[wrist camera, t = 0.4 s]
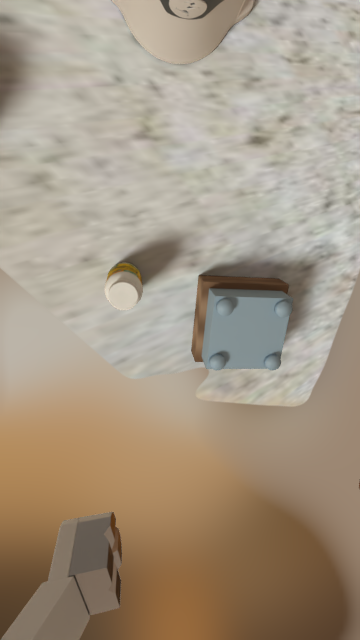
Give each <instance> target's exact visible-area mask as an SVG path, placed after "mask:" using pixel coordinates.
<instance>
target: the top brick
mask: <svg viewBox="0 0 360 640" xmlns="http://www.w3.org/2000/svg"><path fill="white" fill-rule="evenodd" d="M292 302H293V298H292V297H290V296H289V295H287V294H286V293H284V292H283V291H272V290H244V289H217V288H209V294H208V303H207V312H206V321H205V330H204V339H203V348H202V359H203V362H204V364H205V367H206V369H214V370H221V369H269V370H276V369H278V368H279V366H280V364H281V360H280V358H281V353H282V348H283V344H284V339H285V334H286V330H287V325H288V321H289V316H290V314H291V312H292Z"/></svg>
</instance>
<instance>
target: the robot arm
mask: <svg viewBox="0 0 360 640" xmlns="http://www.w3.org/2000/svg"><path fill="white" fill-rule="evenodd" d="M111 1H112V2H114V3H115V4H116V5H117V6H118V8H119V9H120V11H121V12H122V14H123V16H124V18H125V21H126V23H127V25H128V27H129V29H130V30H131V32H132V34H133V35H134V37H135V38H136V40H137V41H138V42H139V43H140V44H141V45H142V46H143V48H145V49H146V50H147V51H148V52H149V53H150V54H152V55H153V56H155V57H157V58H158V59H161V60H163V61H165V62H169V63H173V64H188V63H192V62H195V61H198V60H200V59H202V58H204V57H206V56H207V55H208V54H210V53H211V52H212V51H213V50H214V49H215V48H216V47H217V46H218V45H219V44H220V42H221V41H222V39H223V38H224V36H225V35H226V33H227V32H228V30H229V29H230V28H231V27H232V26H233V25H234V24H236V23H237V22H239V21H241V20H242V19H243V18H245V17H246V16H247V15H248V14H249V13H250V11H251V9H252V7H253V4H254V0H111ZM359 489H360V482H359ZM115 525H116V518H115V515H114V512H109V513H104V514H98V515H92V516H87V517H81V518H75V519H70V520H65V521H63V522H62V524H61V526H60V530H59V534H58V538H57V543H56V548H55V552H54V556H53V560H52V565H51V569H50V574H49V578H48V582H44V583H42V584H41V586H40V587H39V588H38V590H37V591H36V593H35V594H34V595H33V596H32V598H31V599H30V601H29V602H28V603H27V605H26V606H25V608H24V609H23V610H22V611H21V613H20V614H19V616H18V617H17V618H16V620H15V621H14V623H13V624H12V625H11V627H10V628H9V629H8V631H7V632H6V633H5V635H4V636H3V637H2V639H1V640H79V639H80V637H81V635H82V633H83V631H84V629H85V627H86V625H87V622H88V621H89V619H90V616H89V615H93V614H97V613H101V612H105V611H109V610H113V609H116V608H120V594H121V593H120V592H121V579H120V576H119V572H118V569H119V567H120V566H121V564H122V546H121V537H120V532H119V529H118V528H117V527H115Z"/></svg>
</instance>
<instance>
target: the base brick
mask: <svg viewBox="0 0 360 640" xmlns="http://www.w3.org/2000/svg"><path fill="white" fill-rule="evenodd" d="M288 287H289V285H288V284H286V283H285V282H283V281H282V280H280V279H275V278H251V277H227V276H203V275H199V278H198V288H197V298H196V309H195V319H194V329H193V339H192V349H191V351H192V354H193V357H194V360H195V362H203V359H202V348H203V339H204V330H205V321H206V312H207V303H208V294H209V288H217V289H244V290H272V291H283V292H284V293H286V294H287V292H288Z"/></svg>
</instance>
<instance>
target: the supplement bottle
mask: <svg viewBox="0 0 360 640" xmlns="http://www.w3.org/2000/svg"><path fill="white" fill-rule="evenodd" d="M142 293H143V287H142V278H141V274H140V272H139V270H138V269H137V268H136V267H135V266H134V265H132V264H130V263H119V264H117V265H115V266H114V267H112V268H111V270H110V271H109V273H108V277H107V280H106V284H105V295H106V298H107V299H108V301H109V302H110V303H111V305H112V306H113V307H115V308H116V309H119V310H128V309H131V308H132V307H134V306H135V305H136V304H137V303H138V302H139V300H140V299H141V296H142Z"/></svg>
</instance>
